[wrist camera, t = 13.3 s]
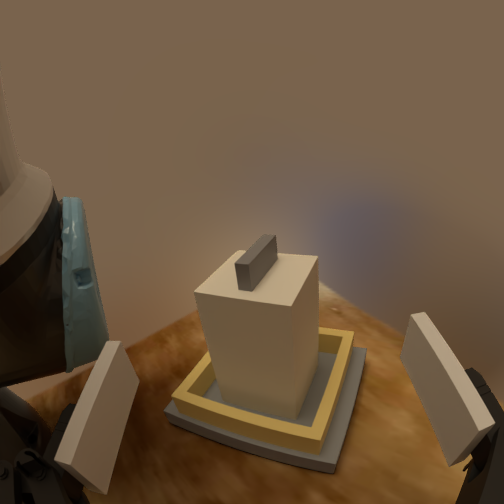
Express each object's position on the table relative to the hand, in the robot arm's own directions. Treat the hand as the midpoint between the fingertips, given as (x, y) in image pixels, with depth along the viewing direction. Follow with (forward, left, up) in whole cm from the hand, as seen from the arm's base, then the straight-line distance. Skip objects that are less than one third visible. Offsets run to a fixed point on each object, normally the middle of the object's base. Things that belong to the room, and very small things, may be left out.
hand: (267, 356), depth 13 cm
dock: (-4, +9, -15) cm, 18 cm away
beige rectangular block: (-4, +9, -13) cm, 16 cm away
